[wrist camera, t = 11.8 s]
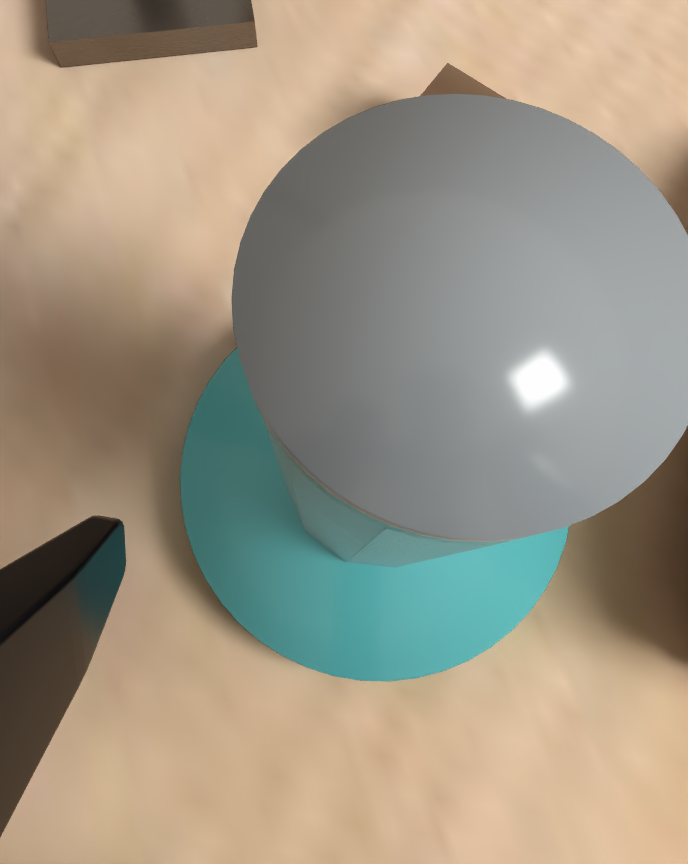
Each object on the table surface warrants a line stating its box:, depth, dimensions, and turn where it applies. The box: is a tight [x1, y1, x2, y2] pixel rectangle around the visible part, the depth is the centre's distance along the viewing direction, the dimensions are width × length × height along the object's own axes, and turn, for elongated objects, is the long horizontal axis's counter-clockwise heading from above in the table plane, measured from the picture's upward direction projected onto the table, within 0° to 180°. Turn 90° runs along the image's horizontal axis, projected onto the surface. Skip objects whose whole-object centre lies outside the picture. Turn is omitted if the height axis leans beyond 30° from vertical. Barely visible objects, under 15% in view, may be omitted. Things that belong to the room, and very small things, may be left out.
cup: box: [232, 94, 688, 567], centre depth 14 cm, size 6×6×13 cm
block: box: [421, 63, 506, 99], centre depth 24 cm, size 3×3×3 cm
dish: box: [180, 348, 569, 681], centre depth 21 cm, size 13×13×1 cm
